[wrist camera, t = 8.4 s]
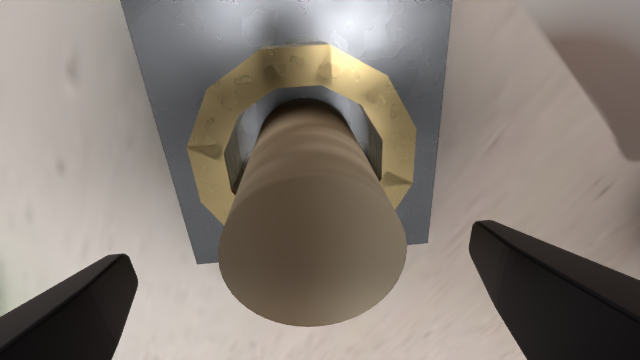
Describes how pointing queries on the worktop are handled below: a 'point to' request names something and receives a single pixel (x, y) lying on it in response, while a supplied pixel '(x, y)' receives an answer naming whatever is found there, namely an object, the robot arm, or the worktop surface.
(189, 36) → the ring collar
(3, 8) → the worktop surface
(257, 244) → the piston
